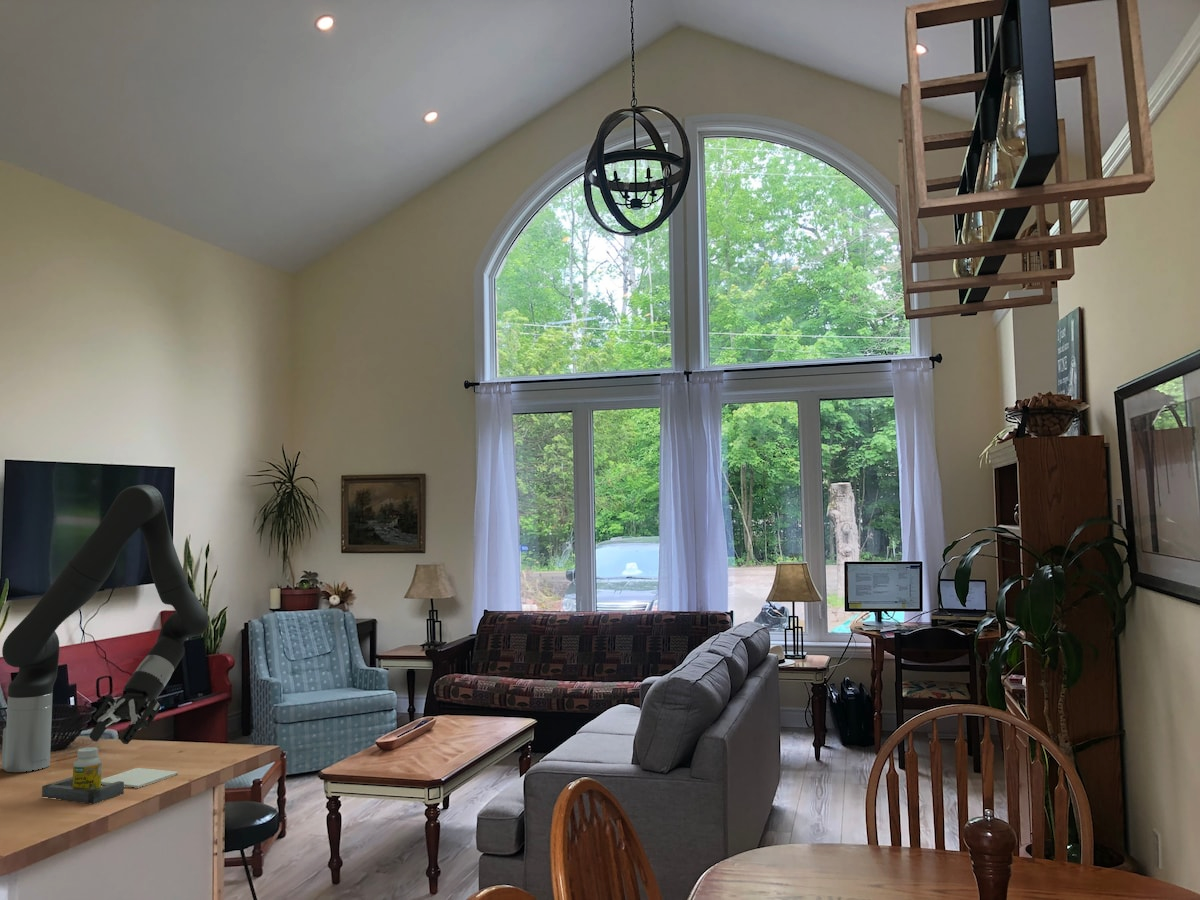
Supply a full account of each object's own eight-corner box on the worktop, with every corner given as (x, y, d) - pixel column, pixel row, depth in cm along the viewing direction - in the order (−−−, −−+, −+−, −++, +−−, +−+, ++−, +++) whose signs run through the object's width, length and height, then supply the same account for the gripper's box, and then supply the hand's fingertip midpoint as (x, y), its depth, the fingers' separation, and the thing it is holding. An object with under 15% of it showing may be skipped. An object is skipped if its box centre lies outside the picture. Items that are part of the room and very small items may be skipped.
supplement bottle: (103, 790, 203) (105, 745, 203) (96, 797, 197) (98, 751, 198) (76, 792, 201) (78, 746, 202) (68, 799, 196) (70, 752, 197)
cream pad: (95, 784, 207) (95, 781, 208) (137, 770, 219) (137, 767, 219) (138, 788, 204) (138, 785, 204) (178, 774, 215) (178, 771, 215)
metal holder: (41, 798, 197) (42, 786, 197) (73, 788, 204) (73, 776, 205) (93, 804, 193) (94, 791, 193) (123, 793, 200) (123, 781, 200)
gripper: (116, 668, 217) (73, 729, 205) (165, 670, 212) (124, 733, 200) (133, 687, 221) (92, 748, 209) (182, 690, 217) (142, 752, 205)
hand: (108, 740), depth 205 cm, fingers open, 8 cm apart
